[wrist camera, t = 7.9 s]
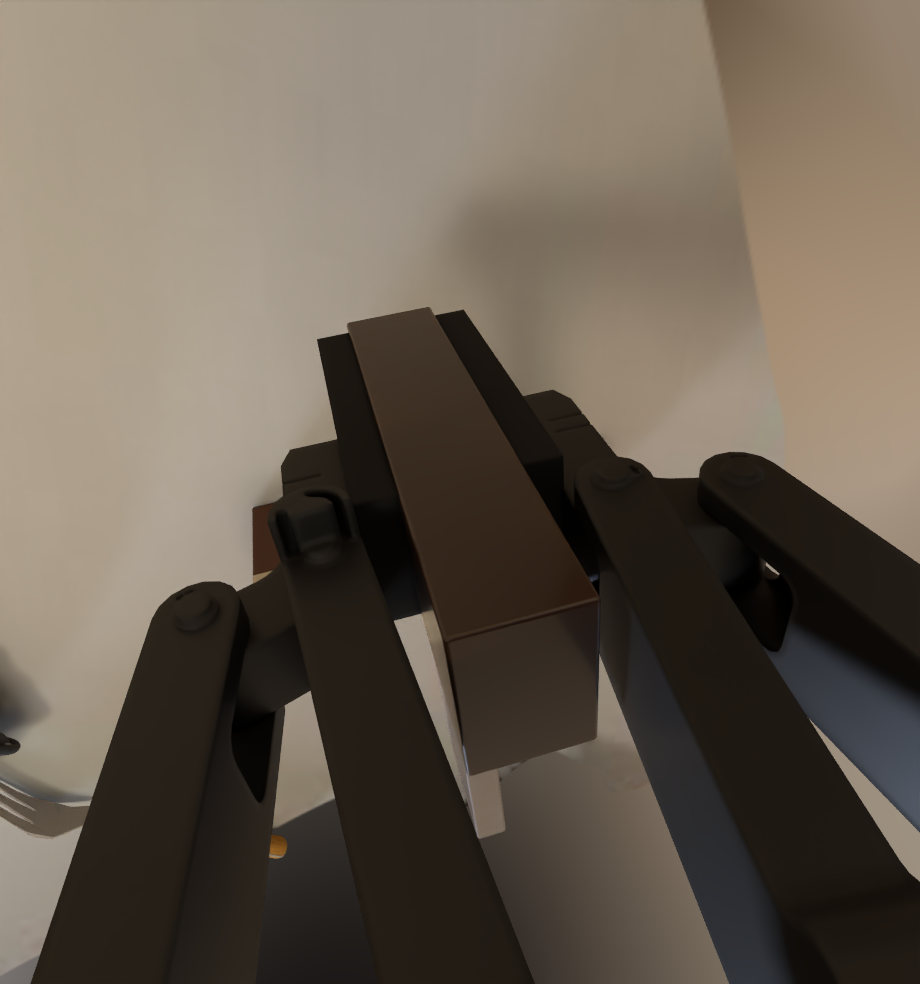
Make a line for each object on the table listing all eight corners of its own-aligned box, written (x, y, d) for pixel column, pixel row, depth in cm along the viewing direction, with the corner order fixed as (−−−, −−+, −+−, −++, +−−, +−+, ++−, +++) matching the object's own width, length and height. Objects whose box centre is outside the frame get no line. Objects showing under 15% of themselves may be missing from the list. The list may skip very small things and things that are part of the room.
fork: (296, 851, 47) (-29, 798, 36) (281, 871, 47) (-48, 825, 36) (289, 821, 49) (-21, 763, 38) (274, 841, 49) (-38, 788, 38)
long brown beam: (430, 305, 16) (603, 598, 8) (487, 728, 26) (590, 1038, 19) (346, 322, 16) (442, 641, 8) (437, 742, 26) (519, 1063, 18)
